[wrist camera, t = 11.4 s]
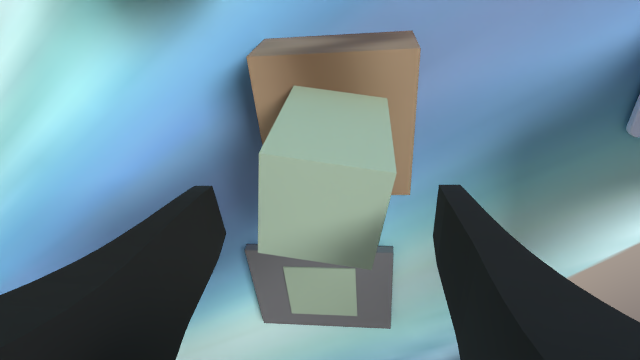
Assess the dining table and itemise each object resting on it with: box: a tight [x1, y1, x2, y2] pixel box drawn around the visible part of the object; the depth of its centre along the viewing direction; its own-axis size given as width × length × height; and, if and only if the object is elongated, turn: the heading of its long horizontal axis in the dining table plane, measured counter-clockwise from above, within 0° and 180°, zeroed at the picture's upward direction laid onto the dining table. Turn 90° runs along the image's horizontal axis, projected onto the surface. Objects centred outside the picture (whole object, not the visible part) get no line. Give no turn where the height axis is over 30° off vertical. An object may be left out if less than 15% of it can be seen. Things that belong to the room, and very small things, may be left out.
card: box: [245, 244, 393, 329], centre depth 27 cm, size 10×8×1 cm
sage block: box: [258, 86, 397, 270], centre depth 14 cm, size 4×4×6 cm
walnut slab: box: [247, 31, 420, 195], centre depth 18 cm, size 7×7×4 cm
